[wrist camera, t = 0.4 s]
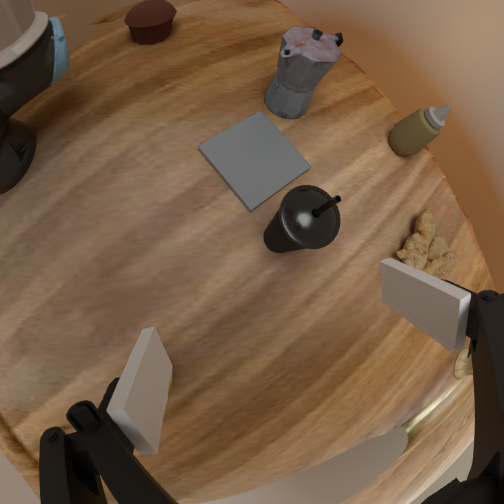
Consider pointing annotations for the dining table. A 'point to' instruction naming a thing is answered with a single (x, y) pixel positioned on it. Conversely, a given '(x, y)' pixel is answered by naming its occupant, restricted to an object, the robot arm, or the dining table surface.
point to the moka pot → (300, 69)
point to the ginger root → (427, 248)
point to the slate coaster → (254, 159)
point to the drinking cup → (304, 220)
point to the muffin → (150, 21)
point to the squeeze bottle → (417, 130)
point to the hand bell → (463, 365)
